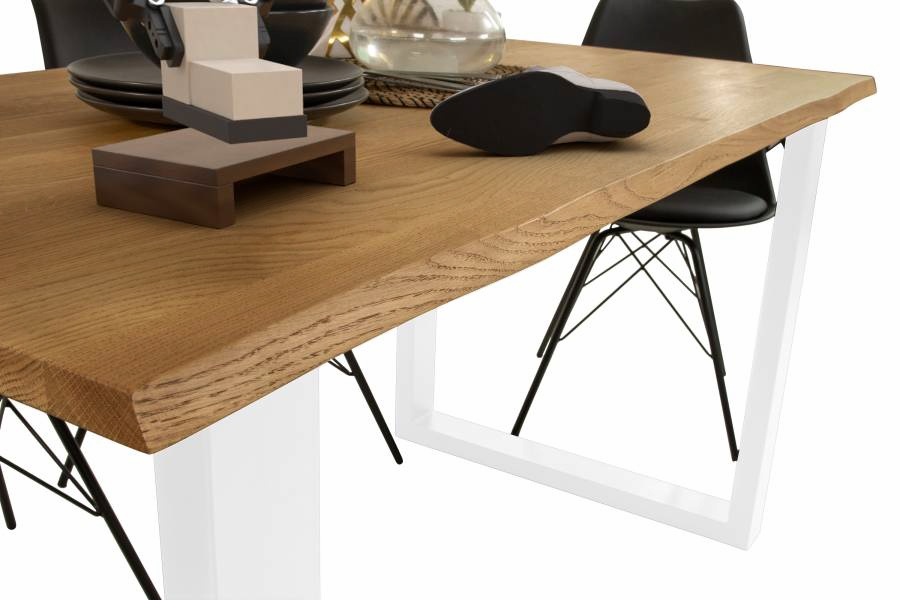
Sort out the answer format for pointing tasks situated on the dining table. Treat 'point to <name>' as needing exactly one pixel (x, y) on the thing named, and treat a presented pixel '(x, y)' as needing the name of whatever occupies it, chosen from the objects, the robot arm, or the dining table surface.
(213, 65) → the trainer
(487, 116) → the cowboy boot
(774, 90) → the dining table surface
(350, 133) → the shoe shelf
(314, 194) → the dining table surface
